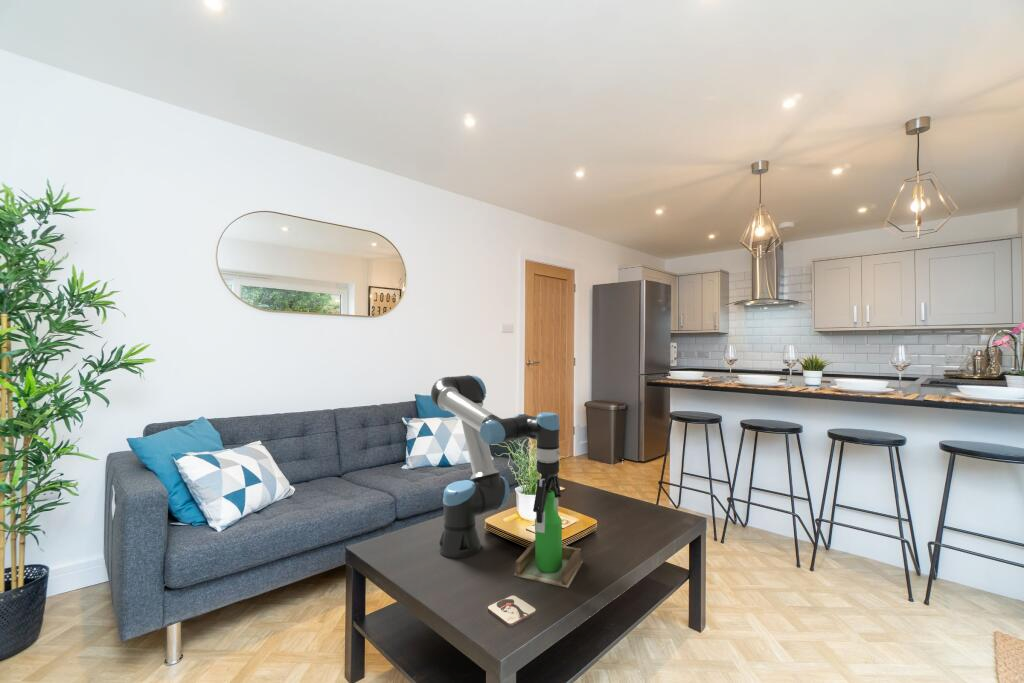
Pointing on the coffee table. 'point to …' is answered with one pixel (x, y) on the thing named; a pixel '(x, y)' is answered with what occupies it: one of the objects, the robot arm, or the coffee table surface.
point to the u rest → (560, 577)
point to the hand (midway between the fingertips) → (547, 523)
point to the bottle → (549, 539)
